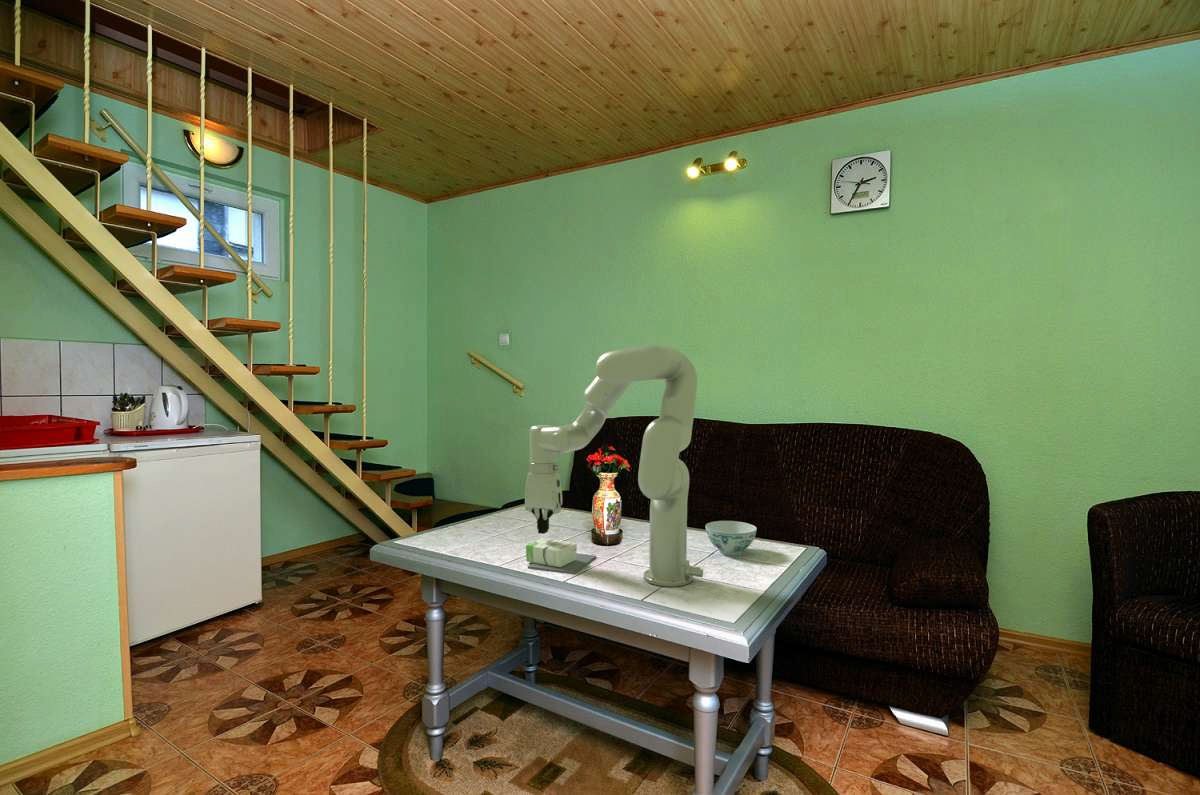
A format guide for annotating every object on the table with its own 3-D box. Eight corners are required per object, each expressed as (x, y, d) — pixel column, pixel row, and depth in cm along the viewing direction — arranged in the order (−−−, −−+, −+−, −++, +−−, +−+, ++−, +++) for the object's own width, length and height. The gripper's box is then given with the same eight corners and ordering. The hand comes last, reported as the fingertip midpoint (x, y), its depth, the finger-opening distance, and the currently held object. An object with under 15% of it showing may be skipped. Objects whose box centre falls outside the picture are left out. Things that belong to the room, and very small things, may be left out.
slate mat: (596, 557, 170) (596, 555, 170) (574, 574, 155) (574, 572, 155) (552, 552, 175) (552, 550, 175) (527, 568, 160) (527, 566, 160)
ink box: (525, 562, 164) (560, 568, 158) (525, 544, 164) (560, 550, 158) (543, 554, 172) (577, 560, 166) (543, 537, 172) (577, 542, 166)
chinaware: (711, 560, 168) (711, 533, 168) (700, 545, 183) (700, 521, 183) (763, 559, 168) (763, 533, 168) (748, 545, 183) (748, 520, 183)
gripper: (572, 468, 168) (572, 531, 168) (525, 465, 173) (525, 527, 173) (561, 471, 161) (561, 538, 161) (513, 469, 166) (513, 533, 166)
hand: (543, 532), depth 167 cm, fingers closed
